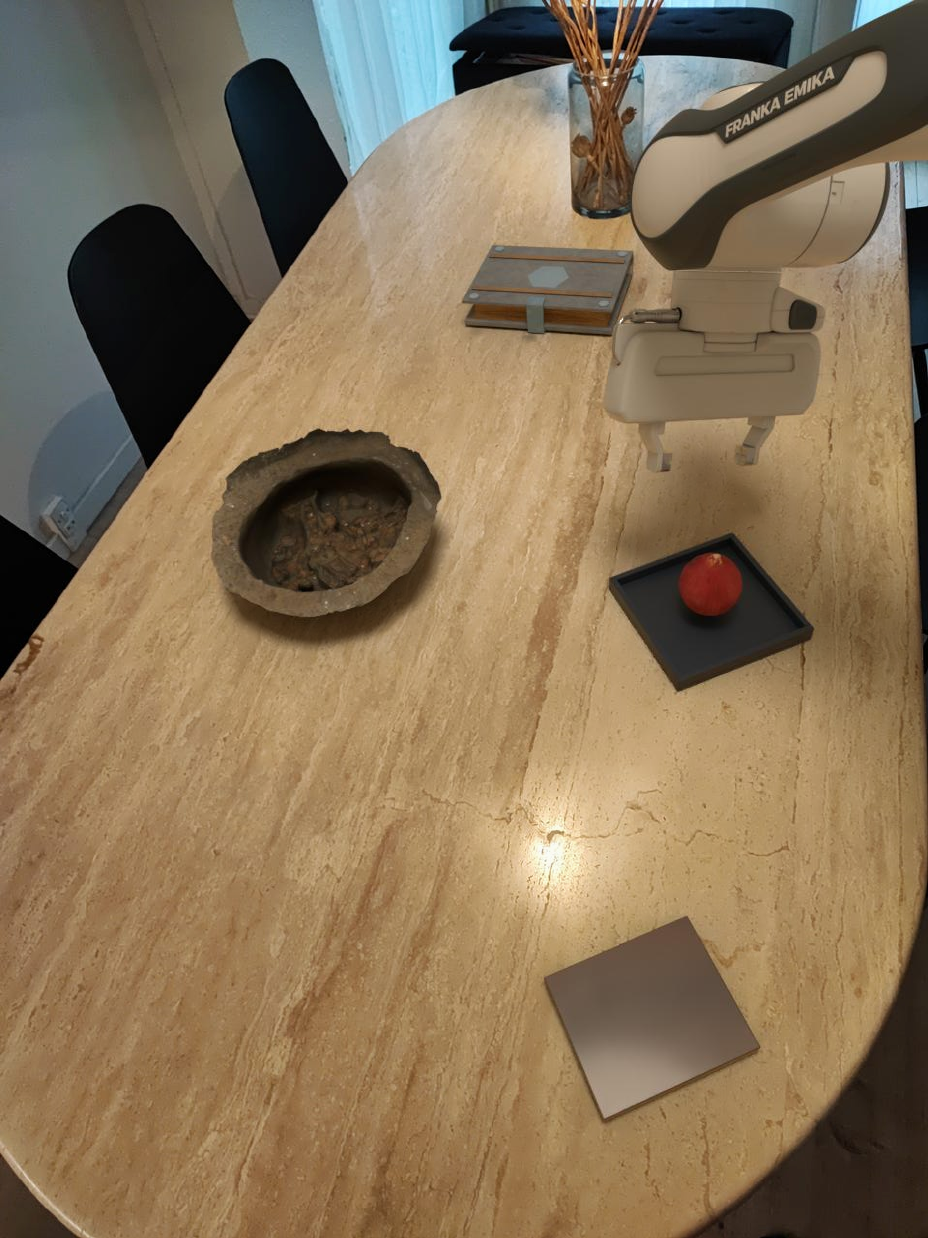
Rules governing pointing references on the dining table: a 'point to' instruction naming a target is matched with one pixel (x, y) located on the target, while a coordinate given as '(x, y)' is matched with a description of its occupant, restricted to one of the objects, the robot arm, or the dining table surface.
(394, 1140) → the dining table surface
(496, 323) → the book
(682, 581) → the onion
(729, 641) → the tray
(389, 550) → the stone bowl
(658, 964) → the board
